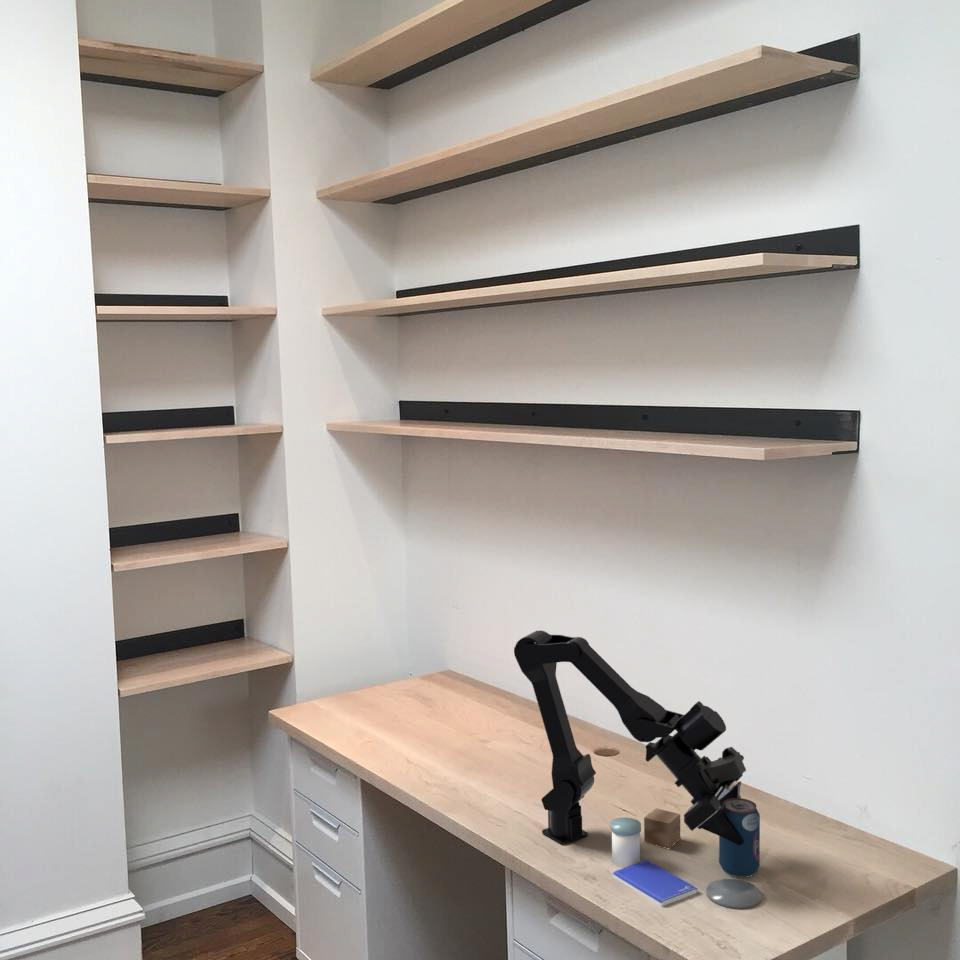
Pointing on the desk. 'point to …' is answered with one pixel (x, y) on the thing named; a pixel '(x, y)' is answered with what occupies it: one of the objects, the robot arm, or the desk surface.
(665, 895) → the hard drive
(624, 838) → the white jar
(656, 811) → the walnut block
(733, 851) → the soda can
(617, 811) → the desk surface
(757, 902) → the coaster
